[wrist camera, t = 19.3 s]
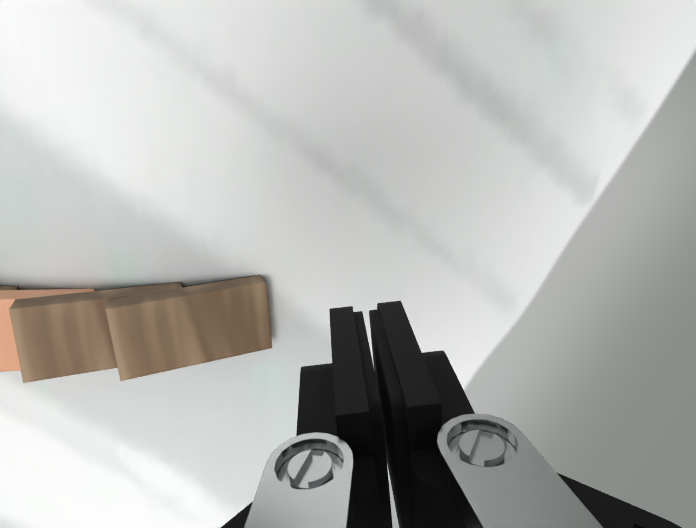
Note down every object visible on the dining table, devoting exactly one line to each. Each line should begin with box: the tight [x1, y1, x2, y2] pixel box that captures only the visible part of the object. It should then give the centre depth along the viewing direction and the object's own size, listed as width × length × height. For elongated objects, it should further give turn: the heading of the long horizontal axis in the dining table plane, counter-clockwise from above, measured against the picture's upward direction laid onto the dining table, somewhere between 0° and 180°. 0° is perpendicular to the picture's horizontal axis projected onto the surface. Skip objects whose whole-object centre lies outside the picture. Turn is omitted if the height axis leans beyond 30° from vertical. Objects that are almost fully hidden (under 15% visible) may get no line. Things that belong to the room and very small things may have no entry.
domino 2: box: [9, 282, 182, 383], centre depth 32 cm, size 2×5×10 cm
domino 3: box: [106, 275, 272, 381], centre depth 33 cm, size 2×5×10 cm
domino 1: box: [0, 289, 94, 372], centre depth 32 cm, size 2×5×10 cm
